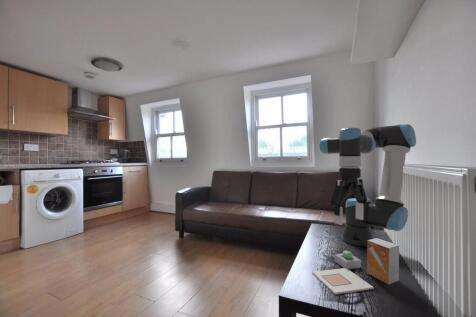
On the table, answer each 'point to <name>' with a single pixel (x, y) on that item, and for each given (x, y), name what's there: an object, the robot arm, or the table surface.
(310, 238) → the table surface
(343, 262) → the button box
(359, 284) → the sheet
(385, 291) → the table surface
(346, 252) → the button
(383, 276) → the small box
